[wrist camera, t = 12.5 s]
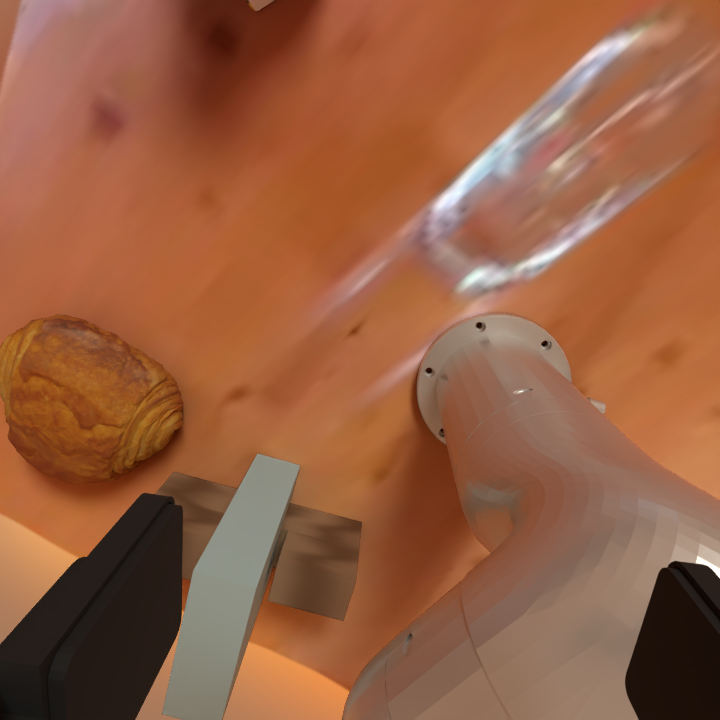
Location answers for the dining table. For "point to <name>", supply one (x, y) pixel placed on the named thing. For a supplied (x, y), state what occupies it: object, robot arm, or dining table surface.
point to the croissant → (84, 400)
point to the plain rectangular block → (228, 592)
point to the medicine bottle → (258, 4)
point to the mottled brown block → (278, 546)
